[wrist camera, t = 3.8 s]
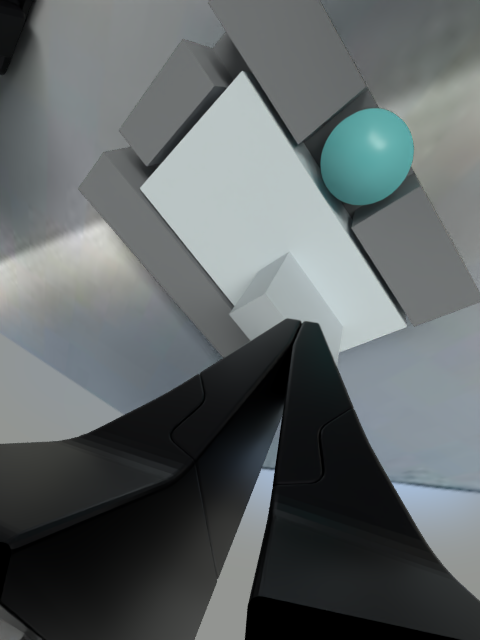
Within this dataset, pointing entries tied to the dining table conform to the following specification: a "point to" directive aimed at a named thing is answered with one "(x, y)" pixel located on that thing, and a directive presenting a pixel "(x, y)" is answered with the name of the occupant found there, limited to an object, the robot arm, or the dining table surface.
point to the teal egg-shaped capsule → (367, 156)
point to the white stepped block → (270, 224)
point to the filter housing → (305, 126)
